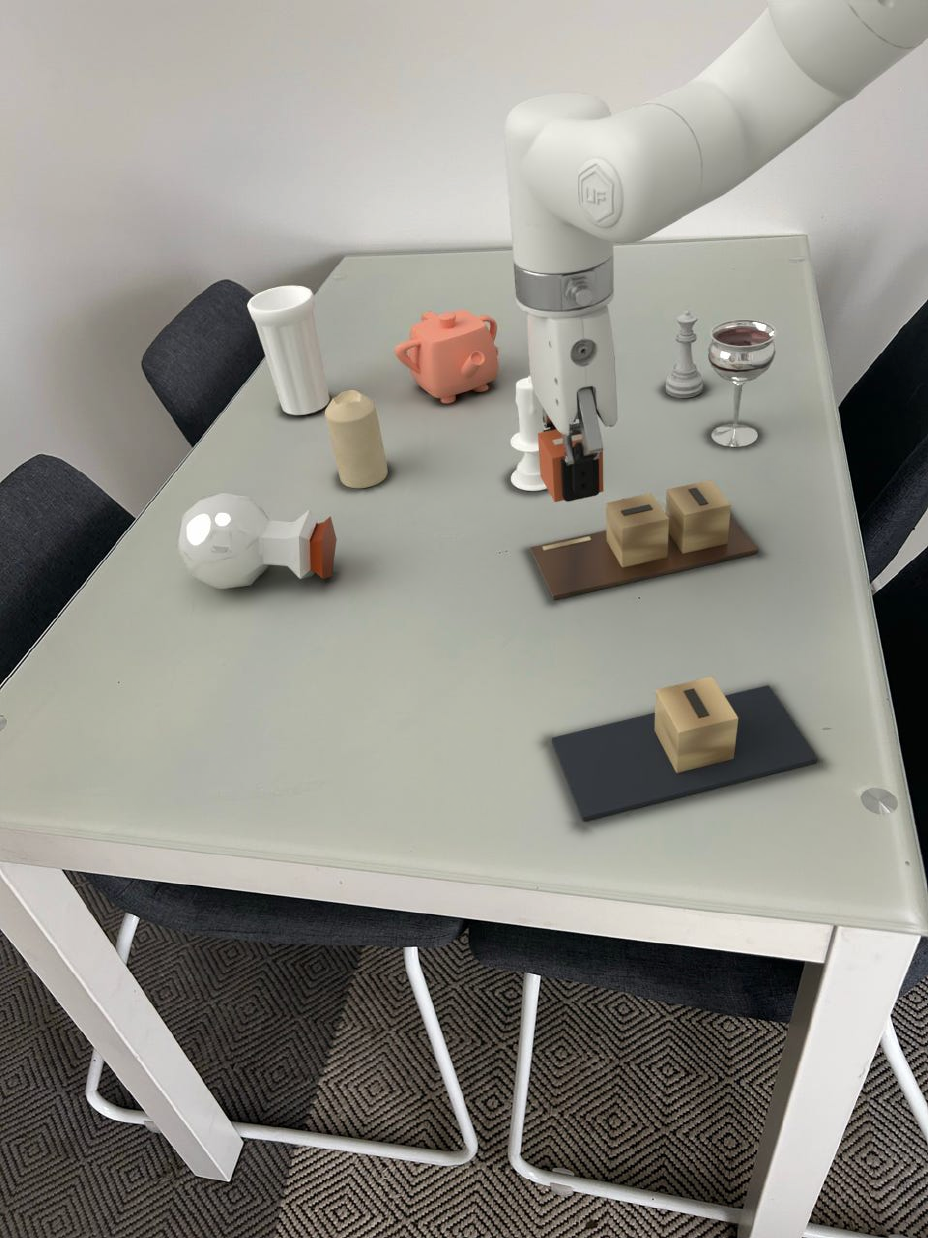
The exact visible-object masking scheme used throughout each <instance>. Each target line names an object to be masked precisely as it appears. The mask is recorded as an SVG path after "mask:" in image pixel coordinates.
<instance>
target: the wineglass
mask: <svg viewBox="0 0 928 1238" xmlns="http://www.w3.org/2000/svg"><path fill="white" fill-rule="evenodd" d="M777 335H778V332H777V329H776V327H774V325H772V324H771V323H769V322H766V321H764V320H763V321H762V320H759V319H751V318H737V319H731V320H725V321H724V322H720V323H718V324H716V325H714V326H712V328H711V330H710V331H709V336H710V338H711V342H710V344H709V345H708V350H707V352H708V354H707V356H708V357H707V359H708V362H709V364H710V367H711V368H712V369H713V371H714V372H715V373H716V374H717V375H718V376H720V377H721V378H722V379H724V380H725V381H729V382H731V383H732V385H734V397H733V398H734V399H733V423H728V424H723V425H720V426H717V427H716V428H715V429H713V430H712V432H711V438H712V440H713V441H714V442H715V443H716V444H719V445H721V446H724V447H731V448H740V447H745V446H746V447H747V446H749V445H751V444H753V443H754V442H755V441H757V439H758V437H759V436H758V435H759V434H758V432H757V430H756V429H755V428H753V427H752V426H748V425H746V424H739V423H738V421H739V415H740V409H741V408H740V407H741V398H742V393H743V385H745V384H746V383H747V382H751V381H753V380H756V379H757V378H758V377H760V376H761V375H762V374H764V373H766V371H768V370H769V368H770V366H771V365H772V363H773V361H774V359H775V356H776V345H775V342H774V340H775V338H776V336H777Z"/></svg>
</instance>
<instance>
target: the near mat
mask: <svg viewBox="0 0 928 1238" xmlns="http://www.w3.org/2000/svg"><path fill="white" fill-rule="evenodd" d="M724 696H725V697H726V699H727V700H728V702H729V704H730V705H731V707H732V709H733V710H734V712H735V713H736V715H737V717H738V725H737V734H736V743H735V751H734V759H731V760H727V761H723V762H719V763H715V764H711V765H707V766H703V767H699V768H695V769H691V770H687V771H683V772H679V773H676V771H675V769H674V767H673V765H672V763H671V762H670V760H669V758H668V756H667V754H666V752H665V750H664V748H663V746H662V744H661V742H660V740H659V738H658V736H657V734H656V732H655V712H651V713H648V714H643V715H640V716H635V717H632V718H627V719H623V720H620V721H614V722H610V723H607V724H602V725H597V726H595V727H590V728H586V729H582V730H578V731H574V732H570V733H565V734H562V735H558V736H554V737H551V743H552V745H553V748H554V751H555V753H556V756H557V758H558V762H559V763H560V766H561V768H562V771H563V774H564V776H565V779H566V781H567V784H568V786H569V789H570V791H571V794H572V797H573V800H574V802H575V805H576V807H577V809H578V812H579V815H580V817H581V820H582V822H586V821H590V820H595V819H598V818H602V817H605V816H610V815H615V814H618V813H623V812H626V811H630V810H634V809H638V808H642V807H646V806H650V805H654V804H658V803H662V802H666V801H670V800H673V799H679V798H682V797H685V796H686V797H687V796H690V795H694V794H697V793H701V792H706V791H709V790H714V789H717V788H722V787H725V786H729V785H733V784H738V783H741V782H745V781H749V780H753V779H757V778H761V777H765V776H769V775H773V774H777V773H781V772H785V771H789V770H793V769H797V768H801V767H805V766H808V765H812V764H816V763H818V761H819V759H818V756H817V755H816V753H815V752H814V751H813V749H812V747H811V746H810V745H809V743H808V741H807V740H806V739H805V737H804V735H803V734H802V733H801V731H800V729H799V728H798V726H797V725H796V724H795V722H794V721H793V719H792V718H791V717H790V714H788V712H787V711H786V709H785V708H784V706H783V705H782V703H781V702H780V699H778V697H777V696H776V694H775V693H774V692H773V690H772V689H771V687H770V686H769V685H768V684H767V685H762V686H759V687H754V688H750V689H747V690H743V691H739V692H734V693H730V694H726V695H724Z"/></svg>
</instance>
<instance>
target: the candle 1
mask: <svg viewBox="0 0 928 1238" xmlns="http://www.w3.org/2000/svg"><path fill="white" fill-rule="evenodd" d="M324 416H325V421H326V425H327V428H328V433H329V438H330V442H331V446H332V450H333V454H334V459H335V463H336V467H337V471H338V475H339V480H340V481H341V483H342V484H343V485H344V486H346V487H348V488H352V489H365V488H370V487H374V486H376V485H378V484H380V483H381V482H383V481H384V480H385V479H386V478H387V476H388V473H389V472H388V463H387V459H386V454H385V448H384V443H383V442H384V441H383V437H382V433H381V427H380V423H379V417H378V412H377V407H376V403H375V401H374V400H373V399H372V398H370V397H368V396H367V395H365V394H362V393H361V392H360V391H358V390H356V389H349V390H345V391H342V392H339V394H338V395H337V396H334V397H332V399H331V401H329V403H328V404H327V407H326V408H325V410H324Z"/></svg>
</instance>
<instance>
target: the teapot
mask: <svg viewBox="0 0 928 1238" xmlns="http://www.w3.org/2000/svg"><path fill="white" fill-rule="evenodd" d="M420 317H421V319H420V320H421V321H420V322H418V323H415V324H413V325H412V326H411V327H410V330H409V339H408V340H406V341H404V342H401V343H399V344H397V346H395V349H394V354H395V357H396V358H397V360H398V361H399V362H400V363H401V364H403V366H405V367H407V368H408V369H409V371H410V374H411V376H412V378H413V379H414V381H415V382H416V383H417V384H418V385H419V386H420V387H421V388H422V389H423V390H425V392H427V393H428V394H429V395H431V396H432V397H433V398H436V399H440V403H443V404H450V403H451V404H452V403H454V402H455V401H456V399H457V397H456V396H457V395H459V394H463V393H465V392H469V391H471V390H473V391H474V392H477V393H478V392H479V393H482V392H486V391H488V389H489V385H488V383H490V382H493V381H494V380H496V379H497V376H498V372H499V359H498V356H499V349H498V347H497V346H496V344H495V343H494V342H495V339H496V336H497V331H498V324H497V321H496V320H495V319H494V318H493V317H491V316H489V315H486V314H482V315H478V316H476V315H474V313H472V312H469V311H468V310H466V309H460V310H455V311H445V312H443V313H440V314H436V312H433V311H432V310H431V311H427V312H424V313H421V314H420ZM486 322H487V323H489V326H488V325H487V323H486Z"/></svg>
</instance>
